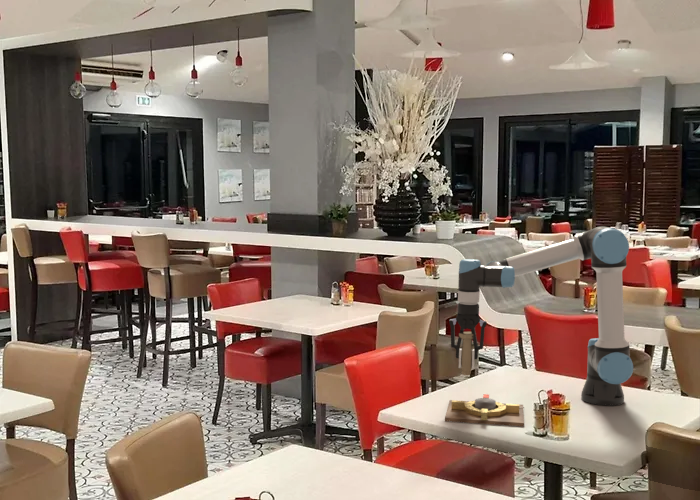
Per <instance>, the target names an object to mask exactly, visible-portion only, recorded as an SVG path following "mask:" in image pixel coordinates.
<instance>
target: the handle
mask: <svg viewBox="0 0 700 500" xmlns="http://www.w3.org/2000/svg"><path fill="white" fill-rule="evenodd" d="M472 336H473V334H472V332H471V331H464V332H463V334H460V332H459V333H458V338H459V337H460V338H462V342H461V343H462V345H461V346H462V347H461V349H462V355H461V368H460V369H461V370H462V371H461V375H462V376H470V375H471V373H472V350H473V337H472Z"/></svg>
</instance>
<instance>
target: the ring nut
mask: <svg viewBox="0 0 700 500" xmlns="http://www.w3.org/2000/svg"><path fill="white" fill-rule="evenodd" d="M482 398H489V399H490V394H488V393H487V394H483V396H482ZM451 400H452V408H451V409H458V410H464V411H466V412H467V413H469V414H473V415H477V416H481V420H487V417H492V416H501V415H503V414H505V413H519V403H517V404H516V403H504V404H506V406H505V405H504V404H502V402H499V401H496V409H492V410H488V409H478V408H475V400H470V402H467V403H465V401H466V400H455V399H451Z"/></svg>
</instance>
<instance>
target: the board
mask: <svg viewBox="0 0 700 500" xmlns="http://www.w3.org/2000/svg"><path fill="white" fill-rule="evenodd" d="M452 400H453V399H450V400H449V402H448V405H447V407H446V413H445V415H444V422H449V421H452V422H451V423H453V422H454V423H463V422H464V424H465V423H466V424H481V425H493V426H494V425H496V426H509V427H521V428H522V427H525V417H524V416H525V413H524V408H525V407H524V404H519V403H518V404H519V413H505V414H503V415H501V416H492V417H487V420H481V416H477V415H473V414H469V413H467V412H466V411H464V410H458V409H451V408H452ZM464 401H465V403H467V402H470V401H471V400H470V401H469V400H464ZM474 401H475V408H478V409H488V410H492V409H496V402H497V401H496V400H495V399H493V398H490V397H489V398H483V397H478V398H476V399H474ZM501 403H502V402H501ZM502 404H504V405H505V406H506V404H507V403H502Z"/></svg>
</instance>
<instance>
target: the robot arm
mask: <svg viewBox="0 0 700 500" xmlns="http://www.w3.org/2000/svg"><path fill="white" fill-rule="evenodd" d="M629 251H630V242H629V240H628V238H627V236H626V235H625V234H624V233H623V232H622V231H621V230H619V229H617V228H614V227H610V226H604V225H603V226H597V227H594V228H592V229H589V230H587V231H583V232H581V233H579V234H578V233H577V234H575V235H574V236H573V237H572V238H571V239H567V240H564V241H561V242H557V243H553V244H551V245H550V244H549V245H548V246H544V247H541V248H537V249H533V250H530V251H526V252H524V253H519V254H516V255H513V256H510V257H507V258H504V259H499V260H493V261H489V262H488V263H487V264H486V265H482V264H481V263H482V261H481V260H480V259H473V258H464V259H461V260H460V261H459V263H458V264H459V266H458V287H457V288H458V291H457V302H458V303H457V315H456V317H455V318H450V319H449V321H448V323H449V326H450V347H451V348H453V349H455V357H456V359H458V369H461V355H462V348H461V343H462V341H463V339H462V338H460V337H459V336H458V338H457V342H456V340H455V339H456V337H455V336H456V334H455V333H456V332H455V331H456V329H455V327H456V326H455V325H456V324H458V325H459V327H460V328H459V329H460V330H459V333H460V334H463V332H465V330H470V332H472V334H473V336H472V337H473V339H472V345H473V348H472V368H471V370H475V360H478V359H479V358H478V357H479V350H483V348H484V344H485V343H484V342H485V341H484V340H485V329H486V327H487V323H488V322H487V321H486V320H482V319H481V317H480V304H479V303H480V295H481V294H480V288H481V287H482V288H483V287H488V288H503V289H505V288H513V287H514V286H515V282H516V281H515V279H516V277H520V276H523V275H527V274H530V273H533V272H537V271H541V270H545V269H548V268H551V267H552V268H553V267H554V266H558V265H561V264H565V263H569V262H572V261H575V260H581V261H585V260H591V262H590V263H591V269H593V270H594V271H595V273H596V296H597V297H596V298H597V301H596V302H597V323H598V324H597V325H598V337H597V338H596V337H595V338H590V339H589V340H588V343H587V344H588V345H587V363H586V364H587V368H586V370H587V371H586V380H585V382H584V385H583V388H582V390H581V395H580V396H581V397H580V398H581V400H582V401H583V402H586V403H588V404H593V405H597V406H606V407H607V406H612V407H613V406H619V405H618V404H620V405H622V403H623V402H624V403H625V394H624V390H623V388H622V384H623V383H625V382H627V381H628V380H629V379H630V378H631V376H632V375H633V372H634V364H633V361H632V358H631V357H630V356H631V352H630V351H631V349H630V348H631V347H630V342H628V341H627V339H625V320H624V319H625V316H624V315H625V314H624V313H625V312H624V293H623V292H624V290H623V289H624V288H623V287H624V286H623V271H624V269H626V267H627V266H628V265H627V256H628V254H629ZM477 325H479V327H480V337H479V344H478V339H477V333H476V327H477ZM624 403H623V404H624Z"/></svg>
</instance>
